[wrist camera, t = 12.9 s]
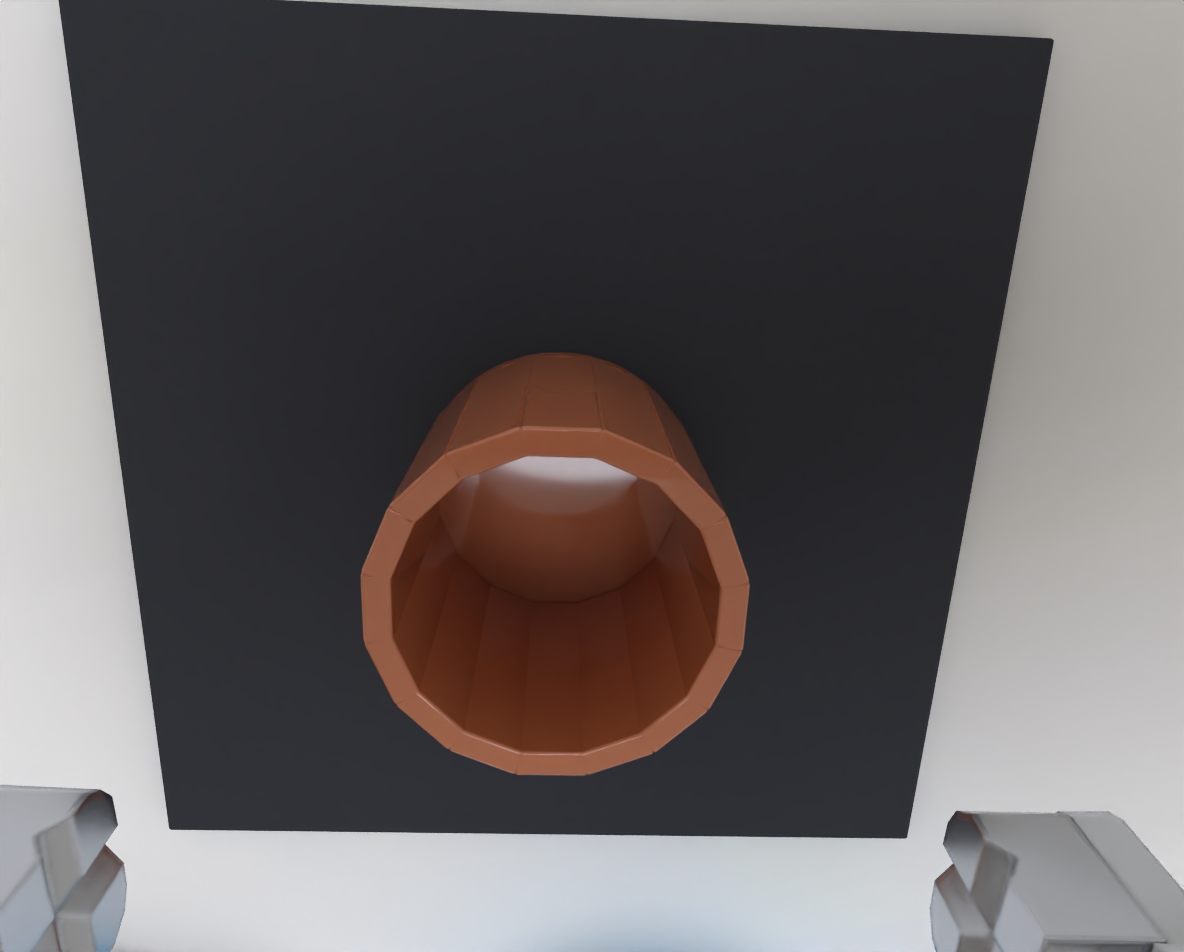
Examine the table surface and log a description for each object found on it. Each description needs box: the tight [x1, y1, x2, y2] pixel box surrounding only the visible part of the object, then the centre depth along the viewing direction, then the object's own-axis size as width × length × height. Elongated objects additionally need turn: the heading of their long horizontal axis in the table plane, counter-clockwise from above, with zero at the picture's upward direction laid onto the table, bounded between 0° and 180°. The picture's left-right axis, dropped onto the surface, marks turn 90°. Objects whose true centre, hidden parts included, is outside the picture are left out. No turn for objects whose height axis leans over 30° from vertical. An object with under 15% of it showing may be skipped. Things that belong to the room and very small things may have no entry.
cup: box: [360, 352, 750, 776], centre depth 18 cm, size 6×6×6 cm
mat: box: [59, 0, 1054, 838], centre depth 21 cm, size 20×20×1 cm
